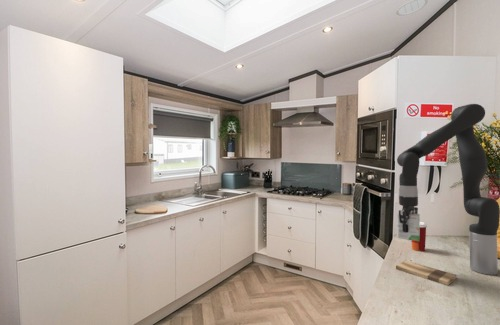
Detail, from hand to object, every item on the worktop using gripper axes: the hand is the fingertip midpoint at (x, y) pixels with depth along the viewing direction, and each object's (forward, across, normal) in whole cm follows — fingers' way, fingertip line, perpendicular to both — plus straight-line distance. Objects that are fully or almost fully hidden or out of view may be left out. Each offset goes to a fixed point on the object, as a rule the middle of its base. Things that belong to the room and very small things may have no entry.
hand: (408, 230), depth 119 cm
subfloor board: (+18, 0, +6) cm, 19 cm away
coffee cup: (+18, -30, -8) cm, 36 cm away
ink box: (+4, 0, 0) cm, 4 cm away
